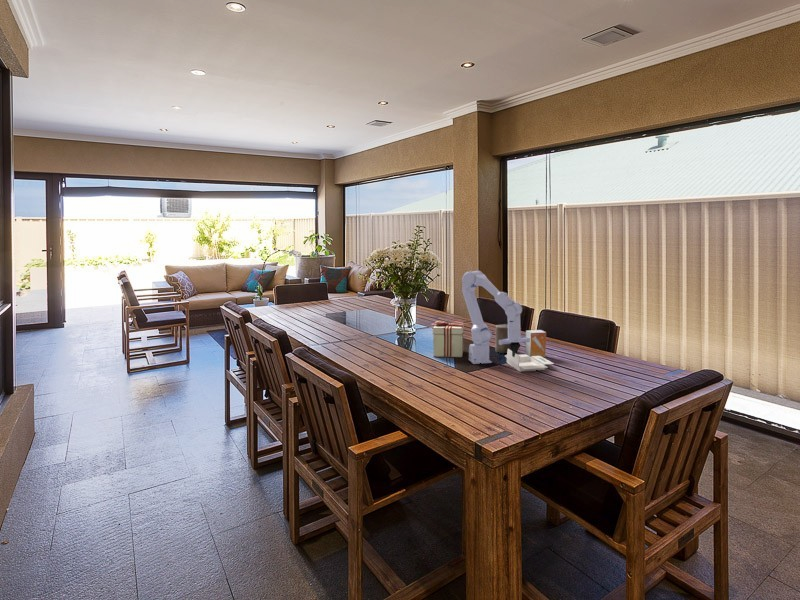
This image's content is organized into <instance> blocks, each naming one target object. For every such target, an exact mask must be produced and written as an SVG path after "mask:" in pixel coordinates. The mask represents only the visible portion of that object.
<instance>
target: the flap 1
mask: <svg viewBox="0 0 800 600" xmlns="http://www.w3.org/2000/svg"><path fill="white" fill-rule="evenodd" d="M506 355H507V357H506V360H507V359H509V360H510V361H512V362H513V363H515V364H516V365H518V366H519V362H520V356H519V355H520V354H518V353H517V354H516V353H515V357H513V356H512V351H511V350H509V349H508V350H507V354H506Z"/></svg>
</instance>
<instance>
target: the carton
mask: <svg viewBox="0 0 800 600" xmlns="http://www.w3.org/2000/svg"><path fill="white" fill-rule="evenodd" d="M518 355H519V356H520V362H519V366H518V365H516V364H515V363H513V362H512V361H510V360H509V359H507V354H505V355H504V357H505V358H506V363H507V364H508V365H509V366H510V367H512V368H513V367H514V368H513V369H515V370H517V372H519V373H520V372H521V373H522V372H533V371H534V372H537V371H536V370H538V371H545V369H548V368H549V367H548V366H547V365H544V364H543V363H541V362H539V361H538V360H536V359H534V358H532V357H529V356H528V355H526V354H525V353H523V354H518Z"/></svg>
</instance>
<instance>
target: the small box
mask: <svg viewBox="0 0 800 600" xmlns="http://www.w3.org/2000/svg"><path fill="white" fill-rule="evenodd" d="M527 337H528V338H530V342H525V350H524V351H525V353H524V354H526V355H528V356H529V357H531V356H541V357H545V358H546V348H547V347H546V346H547V332H546V331H544V330H542V329H532V330H525V338H527Z"/></svg>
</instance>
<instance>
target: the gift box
mask: <svg viewBox="0 0 800 600" xmlns="http://www.w3.org/2000/svg"><path fill="white" fill-rule="evenodd" d="M430 325H431V326H433V327H432V336H433V345H432V346H433V357H436V358H437V357H438V358H439V357H440V358H441V357H442V358H462V357H463V353H464V330H465V329H464V327H465V326H464V325H465V322H463V321H459V320H456V321H452V322H447V321H444V320H436V321H434V323H431V324H430Z"/></svg>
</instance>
